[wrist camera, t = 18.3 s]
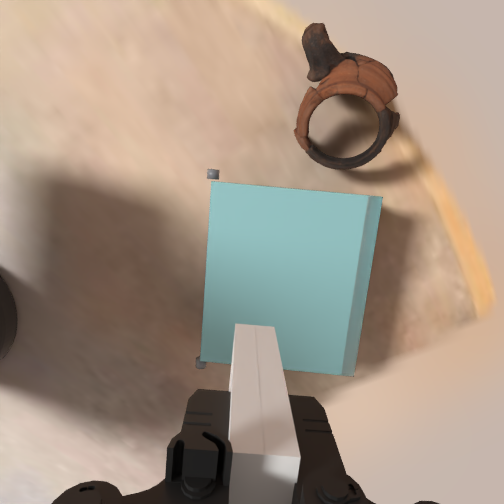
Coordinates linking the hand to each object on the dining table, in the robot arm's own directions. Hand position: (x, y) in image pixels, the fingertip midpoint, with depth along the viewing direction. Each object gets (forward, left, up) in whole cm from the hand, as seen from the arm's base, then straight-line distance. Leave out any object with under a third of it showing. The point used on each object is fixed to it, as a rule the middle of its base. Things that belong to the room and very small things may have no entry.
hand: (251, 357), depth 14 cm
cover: (+3, -2, -19) cm, 19 cm away
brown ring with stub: (+7, +14, -24) cm, 29 cm away
